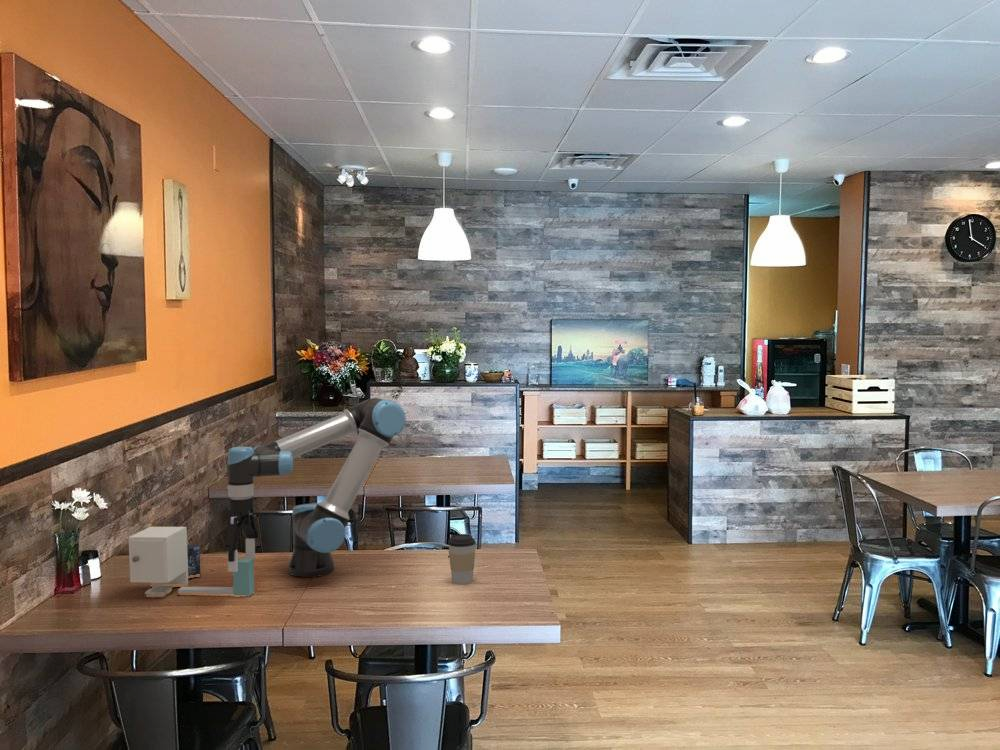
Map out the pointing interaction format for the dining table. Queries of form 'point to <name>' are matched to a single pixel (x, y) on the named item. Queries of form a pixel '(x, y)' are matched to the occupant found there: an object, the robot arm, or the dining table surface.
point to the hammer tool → (241, 581)
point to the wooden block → (158, 590)
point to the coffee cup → (462, 558)
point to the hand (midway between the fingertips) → (241, 565)
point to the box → (193, 559)
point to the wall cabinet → (159, 555)
